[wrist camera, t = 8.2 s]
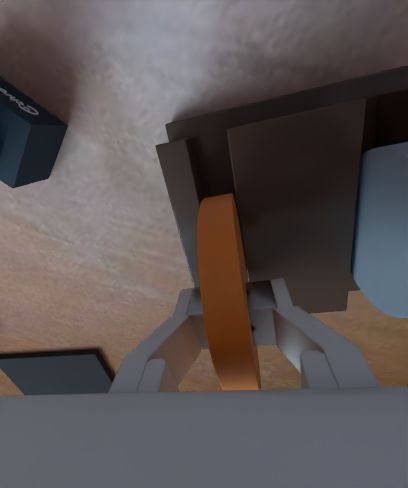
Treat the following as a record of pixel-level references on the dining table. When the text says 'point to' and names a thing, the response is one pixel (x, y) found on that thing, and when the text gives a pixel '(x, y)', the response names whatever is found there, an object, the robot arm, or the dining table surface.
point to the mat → (58, 372)
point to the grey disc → (382, 229)
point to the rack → (288, 178)
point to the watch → (26, 138)
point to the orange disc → (226, 294)
